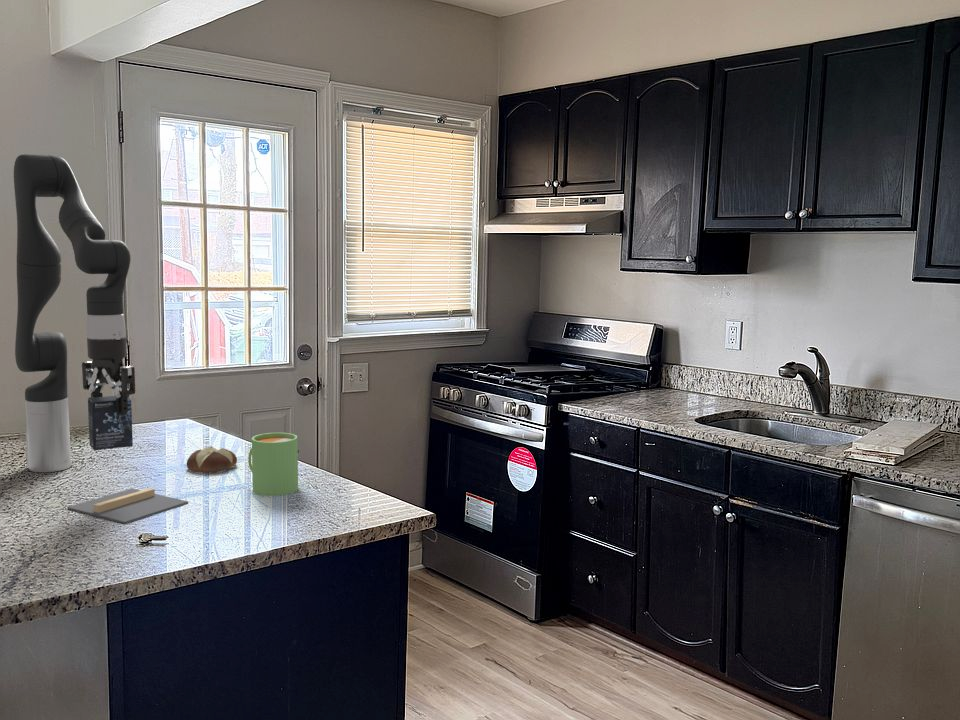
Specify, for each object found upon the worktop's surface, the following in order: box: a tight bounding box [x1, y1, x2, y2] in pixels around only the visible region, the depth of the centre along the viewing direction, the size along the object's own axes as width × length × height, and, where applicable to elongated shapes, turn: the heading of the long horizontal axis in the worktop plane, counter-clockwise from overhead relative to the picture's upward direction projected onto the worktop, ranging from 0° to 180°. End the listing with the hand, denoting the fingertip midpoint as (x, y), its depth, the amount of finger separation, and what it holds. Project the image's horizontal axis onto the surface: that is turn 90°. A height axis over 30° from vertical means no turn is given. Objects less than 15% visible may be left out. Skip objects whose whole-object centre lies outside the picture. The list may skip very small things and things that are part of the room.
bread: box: [186, 446, 238, 474], centre depth 214 cm, size 11×11×5 cm
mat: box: [66, 487, 189, 525], centre depth 183 cm, size 18×16×2 cm
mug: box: [247, 432, 300, 497], centre depth 197 cm, size 13×10×12 cm
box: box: [87, 395, 134, 452], centre depth 184 cm, size 8×6×11 cm
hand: (109, 412), depth 184 cm, fingers closed on box, 7 cm apart
